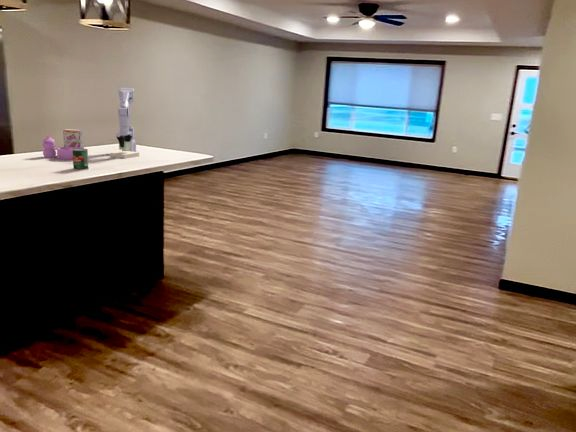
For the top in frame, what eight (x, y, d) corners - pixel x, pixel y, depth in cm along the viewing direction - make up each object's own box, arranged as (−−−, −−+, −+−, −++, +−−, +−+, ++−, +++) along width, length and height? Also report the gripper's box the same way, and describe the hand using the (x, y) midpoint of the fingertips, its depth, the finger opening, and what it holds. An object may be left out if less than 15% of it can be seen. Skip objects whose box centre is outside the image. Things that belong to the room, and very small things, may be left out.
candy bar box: (64, 155, 322) (62, 129, 318) (68, 154, 327) (66, 128, 323) (80, 156, 321) (79, 130, 317) (84, 155, 326) (83, 130, 322)
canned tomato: (72, 169, 276) (71, 150, 273) (74, 167, 283) (73, 148, 280) (87, 170, 278) (86, 150, 275) (89, 167, 285) (88, 148, 282)
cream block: (125, 155, 339) (125, 150, 339) (139, 156, 335) (139, 152, 334) (110, 157, 327) (110, 152, 326) (124, 159, 322) (124, 154, 322)
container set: (88, 157, 318) (87, 137, 315) (76, 161, 304) (75, 139, 300) (50, 155, 320) (49, 134, 316) (37, 158, 305) (35, 137, 302)
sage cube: (123, 148, 333) (123, 141, 331) (130, 149, 331) (130, 141, 330) (119, 149, 328) (118, 141, 327) (125, 150, 327) (125, 142, 325)
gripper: (125, 125, 333) (126, 145, 337) (111, 126, 320) (112, 147, 324) (134, 125, 331) (135, 146, 335) (121, 127, 318) (121, 148, 322)
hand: (124, 146), depth 329 cm, fingers closed on sage cube, 5 cm apart
